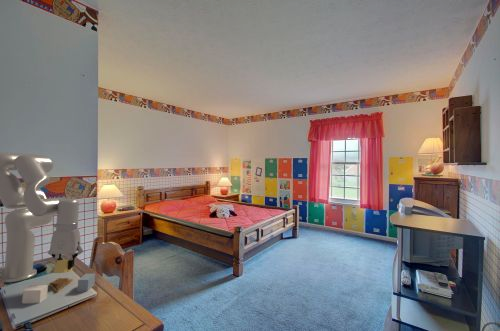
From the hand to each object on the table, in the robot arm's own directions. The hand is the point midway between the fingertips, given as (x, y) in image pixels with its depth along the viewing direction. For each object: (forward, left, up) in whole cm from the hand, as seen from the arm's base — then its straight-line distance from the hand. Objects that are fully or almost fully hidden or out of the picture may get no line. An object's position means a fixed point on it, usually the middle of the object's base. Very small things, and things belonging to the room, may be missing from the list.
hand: (64, 267), depth 104 cm
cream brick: (-3, -12, -8) cm, 15 cm away
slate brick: (+11, -3, -8) cm, 13 cm away
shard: (0, 0, -8) cm, 8 cm away
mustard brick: (0, -1, -1) cm, 2 cm away
